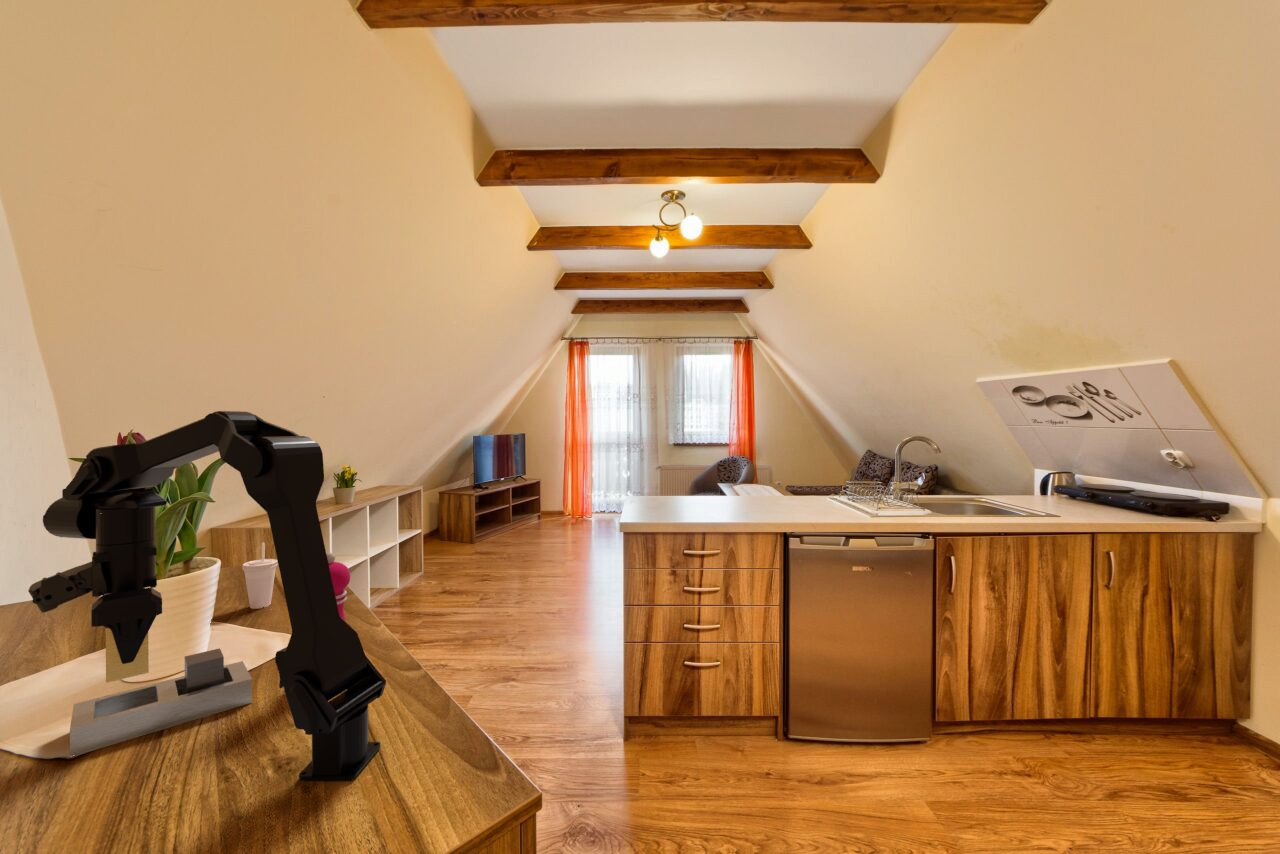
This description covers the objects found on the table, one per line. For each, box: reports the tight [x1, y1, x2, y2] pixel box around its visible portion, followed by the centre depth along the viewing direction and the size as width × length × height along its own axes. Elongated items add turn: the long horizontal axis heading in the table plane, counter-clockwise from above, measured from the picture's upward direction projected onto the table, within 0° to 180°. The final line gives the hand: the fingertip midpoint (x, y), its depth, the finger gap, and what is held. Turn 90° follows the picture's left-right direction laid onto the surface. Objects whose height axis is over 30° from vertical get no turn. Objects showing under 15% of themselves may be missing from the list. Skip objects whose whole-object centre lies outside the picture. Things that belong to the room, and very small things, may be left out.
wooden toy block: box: [105, 627, 150, 684], centre depth 71 cm, size 4×4×7 cm
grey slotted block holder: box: [69, 648, 253, 757], centre depth 73 cm, size 18×8×7 cm, turn 135°
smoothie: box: [242, 541, 279, 610], centre depth 118 cm, size 6×6×14 cm
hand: (127, 657), depth 71 cm, fingers closed on wooden toy block, 4 cm apart
